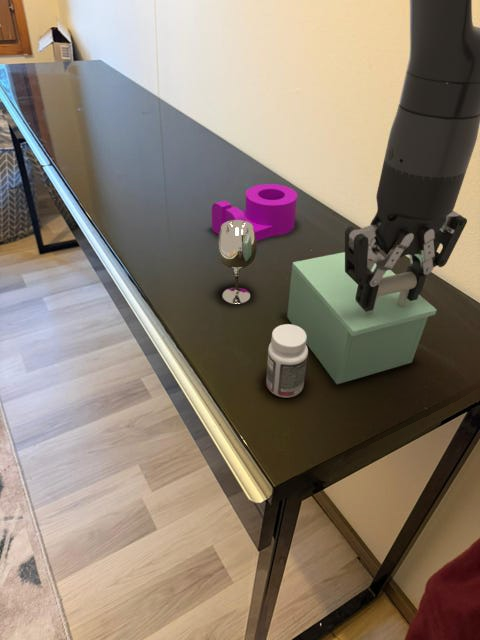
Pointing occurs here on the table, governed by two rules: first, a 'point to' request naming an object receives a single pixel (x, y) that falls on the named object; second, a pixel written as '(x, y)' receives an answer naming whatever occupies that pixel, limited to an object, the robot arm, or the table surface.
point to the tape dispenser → (261, 211)
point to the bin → (349, 337)
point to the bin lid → (341, 292)
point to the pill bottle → (287, 361)
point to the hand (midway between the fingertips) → (387, 301)
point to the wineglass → (236, 254)
